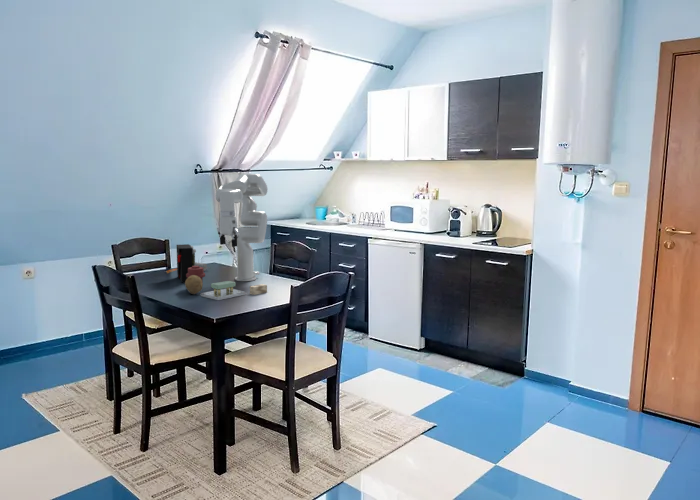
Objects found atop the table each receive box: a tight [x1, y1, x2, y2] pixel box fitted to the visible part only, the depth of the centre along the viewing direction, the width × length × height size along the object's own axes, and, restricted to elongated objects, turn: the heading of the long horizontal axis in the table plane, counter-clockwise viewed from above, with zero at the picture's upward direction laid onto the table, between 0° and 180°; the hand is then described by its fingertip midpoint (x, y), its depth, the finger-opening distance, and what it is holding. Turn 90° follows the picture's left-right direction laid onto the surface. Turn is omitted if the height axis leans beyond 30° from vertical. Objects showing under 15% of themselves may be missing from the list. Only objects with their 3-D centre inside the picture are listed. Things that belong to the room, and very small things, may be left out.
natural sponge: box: [184, 275, 204, 295], centre depth 285 cm, size 9×9×10 cm
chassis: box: [200, 286, 247, 301], centre depth 283 cm, size 18×14×4 cm
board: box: [210, 280, 236, 289], centre depth 283 cm, size 11×6×2 cm, turn 141°
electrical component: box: [176, 243, 197, 284], centre depth 322 cm, size 18×10×20 cm, turn 22°
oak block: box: [249, 283, 268, 296], centre depth 290 cm, size 9×4×4 cm, turn 141°
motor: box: [165, 261, 211, 274], centre depth 350 cm, size 23×22×5 cm
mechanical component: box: [186, 266, 206, 286], centre depth 299 cm, size 12×10×10 cm
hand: (228, 245), depth 294 cm, fingers open, 9 cm apart
